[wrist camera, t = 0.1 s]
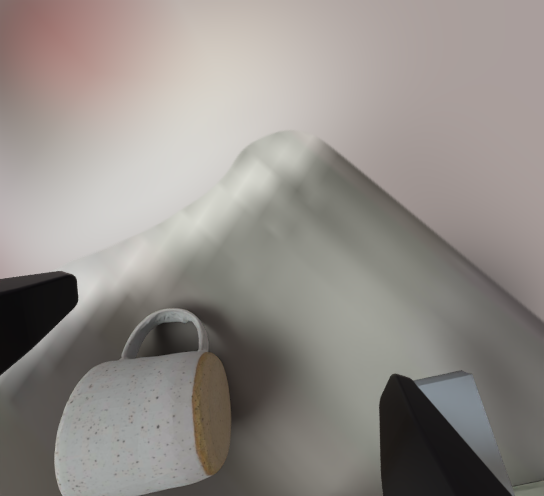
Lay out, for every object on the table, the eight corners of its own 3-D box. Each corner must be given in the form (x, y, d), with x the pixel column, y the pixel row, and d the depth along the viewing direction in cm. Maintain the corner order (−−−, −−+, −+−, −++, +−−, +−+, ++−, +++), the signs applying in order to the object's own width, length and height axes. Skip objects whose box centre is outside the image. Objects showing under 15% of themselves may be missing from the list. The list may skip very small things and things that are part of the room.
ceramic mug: (242, 442, 20) (211, 519, 13) (135, 462, 21) (44, 548, 13) (221, 299, 23) (186, 293, 15) (126, 318, 23) (46, 321, 16)
